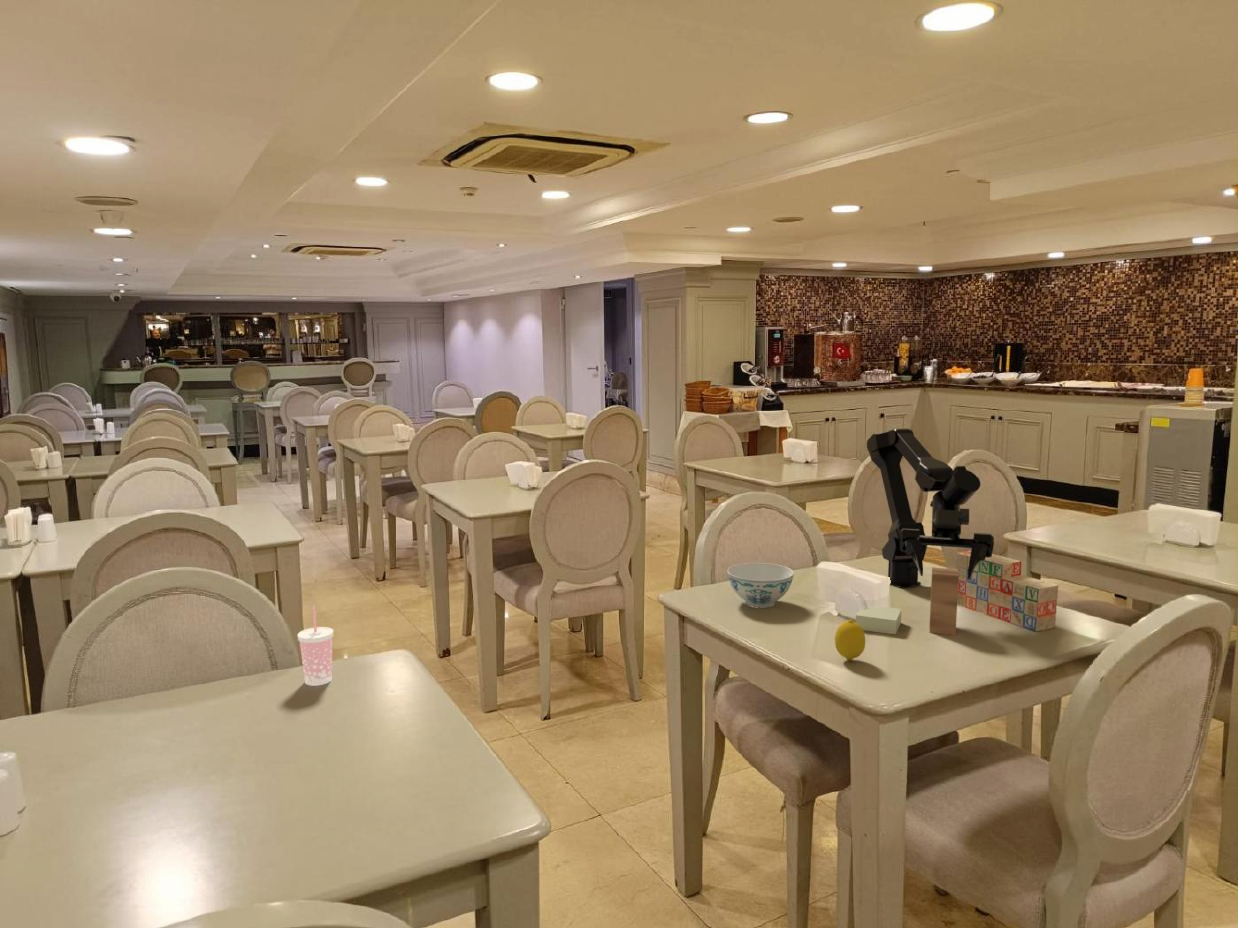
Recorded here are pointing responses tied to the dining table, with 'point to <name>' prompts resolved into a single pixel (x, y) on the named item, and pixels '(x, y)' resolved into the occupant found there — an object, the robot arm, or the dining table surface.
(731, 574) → the chinaware
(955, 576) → the pillar
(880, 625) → the base slab
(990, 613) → the stack of blocks
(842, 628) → the lemon
